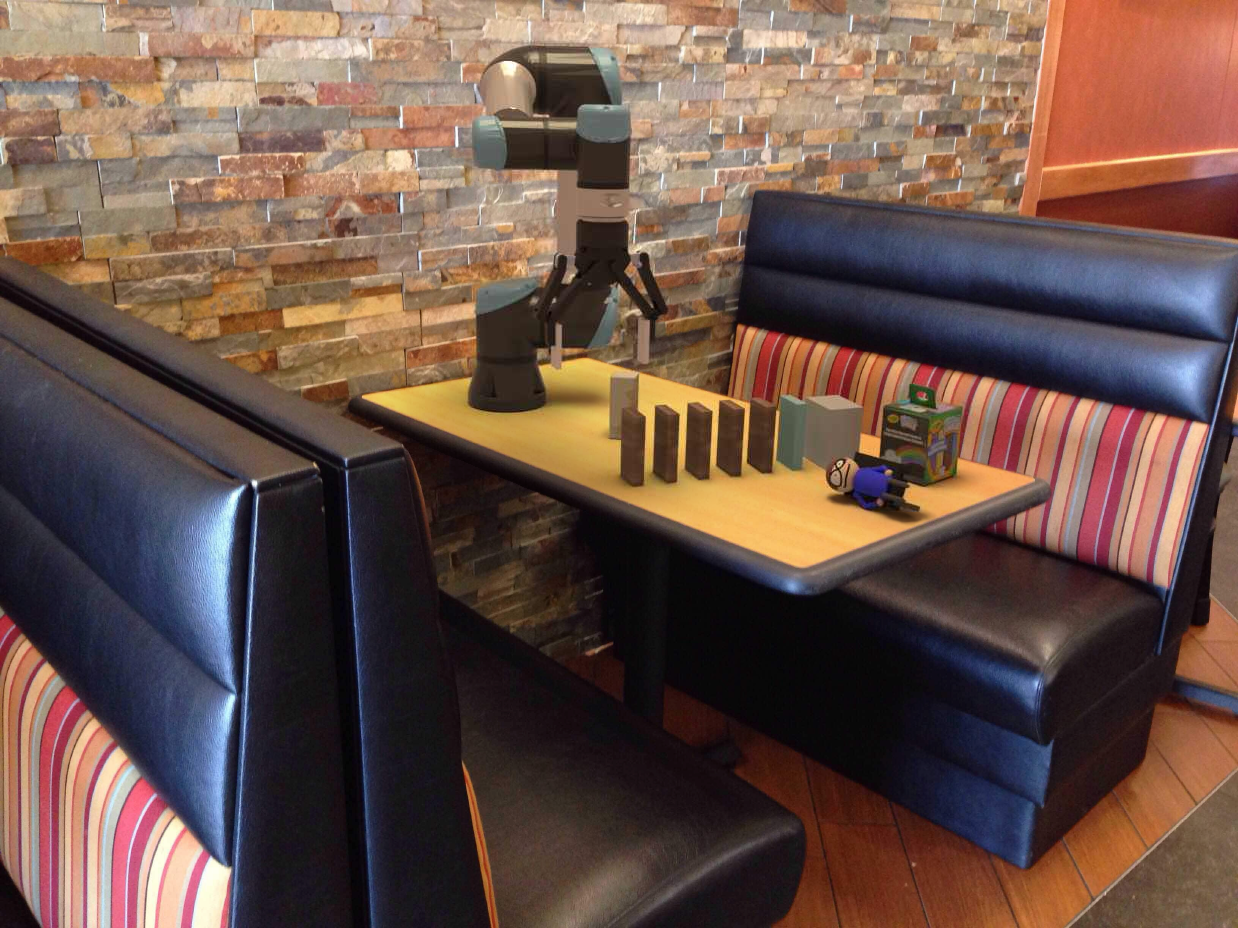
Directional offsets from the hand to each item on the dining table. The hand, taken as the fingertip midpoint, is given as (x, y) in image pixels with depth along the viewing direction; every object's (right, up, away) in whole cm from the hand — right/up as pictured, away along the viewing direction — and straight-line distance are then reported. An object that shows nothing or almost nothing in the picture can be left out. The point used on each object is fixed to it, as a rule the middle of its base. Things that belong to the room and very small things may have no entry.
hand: (600, 365), depth 163 cm
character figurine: (+40, -21, -1) cm, 45 cm away
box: (+4, -10, +31) cm, 32 cm away
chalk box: (+50, -16, +14) cm, 55 cm away
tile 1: (+5, -17, +8) cm, 19 cm away
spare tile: (+31, -15, +17) cm, 38 cm away
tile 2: (+10, -17, +10) cm, 22 cm away
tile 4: (+20, -16, +13) cm, 29 cm away
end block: (+38, -14, +19) cm, 45 cm away
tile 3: (+15, -16, +11) cm, 25 cm away
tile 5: (+25, -15, +15) cm, 33 cm away
